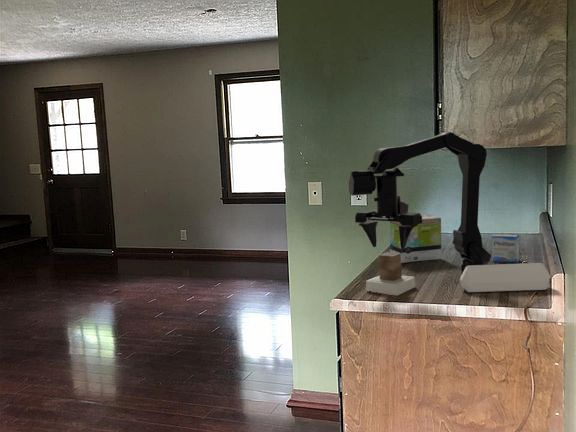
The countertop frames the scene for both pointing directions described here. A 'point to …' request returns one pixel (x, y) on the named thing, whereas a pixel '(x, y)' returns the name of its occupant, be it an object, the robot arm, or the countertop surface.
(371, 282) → the base slab
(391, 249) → the tea box
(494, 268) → the crystal
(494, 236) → the medicine box
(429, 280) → the countertop surface
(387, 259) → the walnut block
